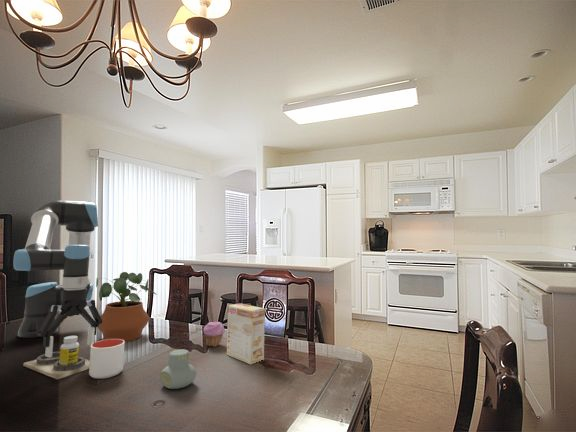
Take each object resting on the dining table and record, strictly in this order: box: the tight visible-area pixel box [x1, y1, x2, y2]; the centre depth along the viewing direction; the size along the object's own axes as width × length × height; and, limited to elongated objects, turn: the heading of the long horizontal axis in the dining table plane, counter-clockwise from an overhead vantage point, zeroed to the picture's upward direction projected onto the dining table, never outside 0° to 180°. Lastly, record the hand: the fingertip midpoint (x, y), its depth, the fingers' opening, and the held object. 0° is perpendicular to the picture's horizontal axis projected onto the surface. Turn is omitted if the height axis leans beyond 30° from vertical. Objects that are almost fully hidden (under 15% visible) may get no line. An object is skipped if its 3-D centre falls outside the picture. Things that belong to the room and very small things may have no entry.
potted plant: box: [95, 271, 157, 343], centre depth 151 cm, size 23×28×30 cm
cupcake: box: [203, 321, 225, 348], centre depth 139 cm, size 9×9×10 cm
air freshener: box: [159, 348, 197, 390], centre depth 100 cm, size 11×8×10 cm
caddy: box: [22, 351, 90, 380], centre depth 113 cm, size 13×22×2 cm, turn 62°
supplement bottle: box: [59, 335, 80, 365], centre depth 111 cm, size 5×5×10 cm
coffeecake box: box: [226, 302, 266, 365], centre depth 125 cm, size 15×7×20 cm, turn 47°
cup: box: [88, 339, 126, 380], centre depth 108 cm, size 10×10×10 cm
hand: (70, 350), depth 111 cm, fingers open, 13 cm apart
